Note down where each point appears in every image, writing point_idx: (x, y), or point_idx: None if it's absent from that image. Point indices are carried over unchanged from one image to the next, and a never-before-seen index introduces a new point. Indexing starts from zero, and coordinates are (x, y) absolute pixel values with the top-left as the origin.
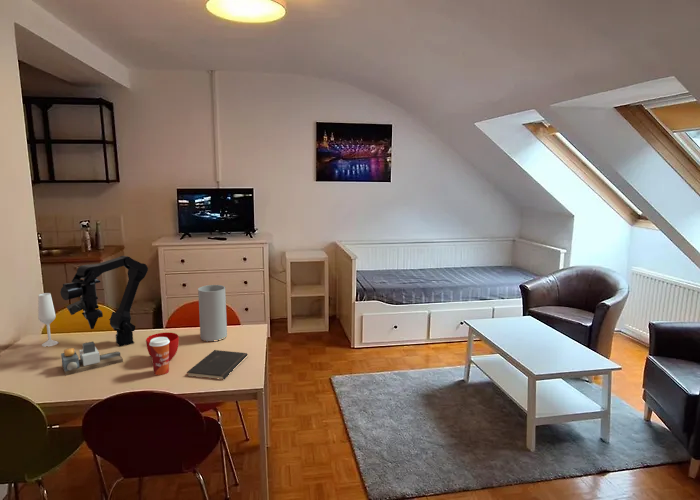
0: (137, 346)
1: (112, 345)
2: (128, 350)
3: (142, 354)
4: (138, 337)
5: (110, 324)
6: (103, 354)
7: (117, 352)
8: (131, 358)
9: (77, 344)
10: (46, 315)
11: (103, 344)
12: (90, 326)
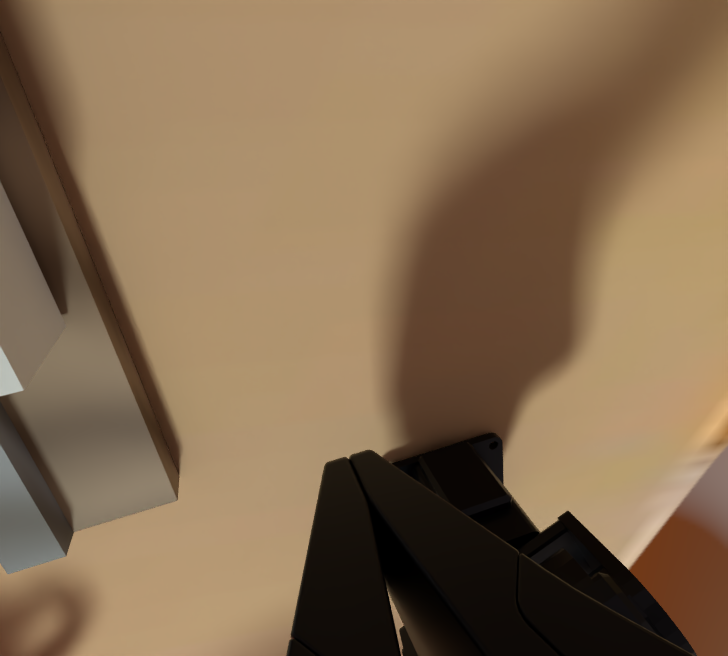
0: None
1: (445, 406)
2: (249, 541)
3: (96, 651)
4: None
5: (586, 582)
6: (122, 389)
7: (36, 547)
8: (13, 597)
9: (665, 89)
10: None
11: (514, 332)
12: (317, 519)
